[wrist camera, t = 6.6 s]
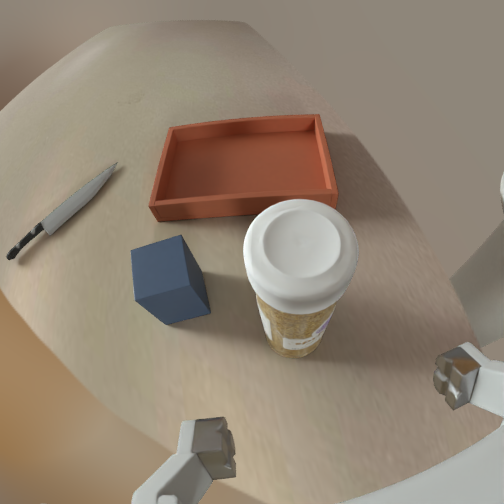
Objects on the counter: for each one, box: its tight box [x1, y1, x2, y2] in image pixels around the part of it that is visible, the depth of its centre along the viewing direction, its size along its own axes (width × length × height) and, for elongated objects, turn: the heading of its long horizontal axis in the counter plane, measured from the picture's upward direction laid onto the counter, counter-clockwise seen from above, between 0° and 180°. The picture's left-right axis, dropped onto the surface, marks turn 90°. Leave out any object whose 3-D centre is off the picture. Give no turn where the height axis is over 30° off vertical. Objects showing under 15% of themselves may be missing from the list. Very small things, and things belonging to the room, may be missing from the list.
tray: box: [149, 114, 339, 222], centre depth 31 cm, size 17×12×3 cm
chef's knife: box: [7, 162, 118, 260], centre depth 31 cm, size 19×1×3 cm
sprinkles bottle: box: [243, 199, 359, 358], centre depth 17 cm, size 5×5×13 cm
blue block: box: [131, 235, 211, 325], centre depth 23 cm, size 4×4×6 cm
